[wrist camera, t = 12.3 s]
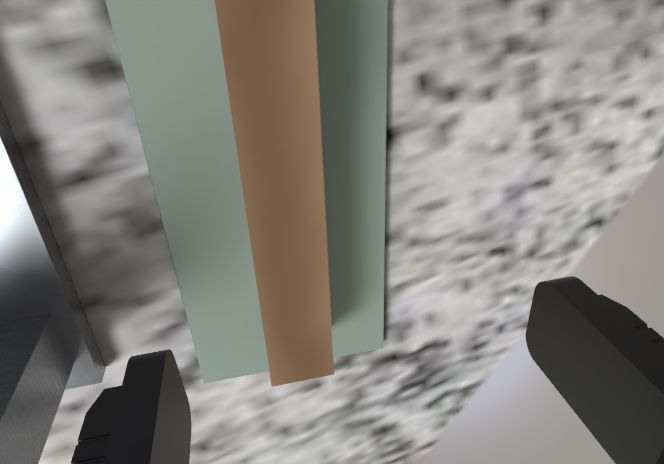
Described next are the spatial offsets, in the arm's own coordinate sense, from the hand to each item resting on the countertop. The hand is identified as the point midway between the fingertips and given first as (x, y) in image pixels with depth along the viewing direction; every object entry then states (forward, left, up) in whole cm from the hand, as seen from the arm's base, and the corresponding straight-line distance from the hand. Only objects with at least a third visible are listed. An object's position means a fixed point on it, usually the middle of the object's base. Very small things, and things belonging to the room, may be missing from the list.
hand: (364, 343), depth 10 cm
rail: (+1, 0, -11) cm, 11 cm away
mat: (+1, 0, -12) cm, 12 cm away
